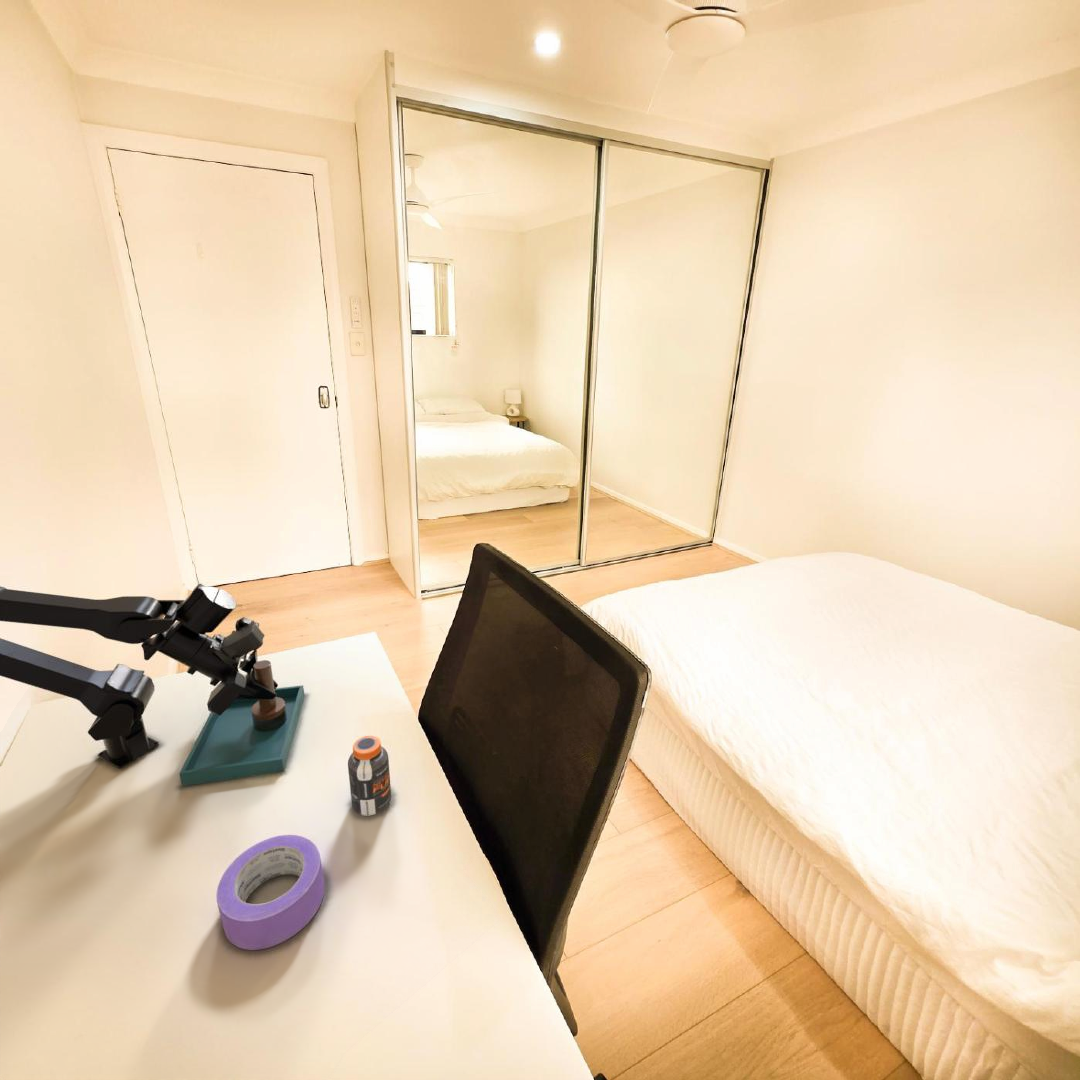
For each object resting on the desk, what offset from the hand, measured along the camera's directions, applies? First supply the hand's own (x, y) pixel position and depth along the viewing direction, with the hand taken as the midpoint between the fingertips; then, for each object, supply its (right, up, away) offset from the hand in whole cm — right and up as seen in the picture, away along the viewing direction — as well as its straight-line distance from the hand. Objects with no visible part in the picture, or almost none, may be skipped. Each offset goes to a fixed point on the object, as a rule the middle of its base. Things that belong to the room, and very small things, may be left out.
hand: (275, 692), depth 98 cm
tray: (-4, -8, -1) cm, 9 cm away
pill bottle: (+22, -13, -14) cm, 30 cm away
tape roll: (+15, -19, -30) cm, 38 cm away
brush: (-2, -6, +2) cm, 6 cm away
